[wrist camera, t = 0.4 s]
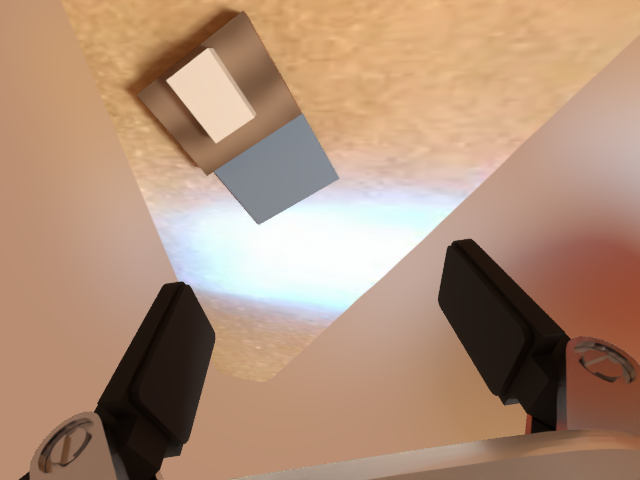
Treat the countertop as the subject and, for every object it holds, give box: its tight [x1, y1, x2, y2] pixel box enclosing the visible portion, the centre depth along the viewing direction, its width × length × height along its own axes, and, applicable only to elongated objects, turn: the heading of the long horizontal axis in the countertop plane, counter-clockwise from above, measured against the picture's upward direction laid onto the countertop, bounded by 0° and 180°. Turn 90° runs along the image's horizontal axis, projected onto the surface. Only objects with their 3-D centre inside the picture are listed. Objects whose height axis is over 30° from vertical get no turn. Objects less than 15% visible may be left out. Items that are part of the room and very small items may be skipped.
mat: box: [214, 113, 339, 225], centre depth 43 cm, size 11×16×1 cm
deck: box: [137, 11, 301, 176], centre depth 36 cm, size 12×16×3 cm
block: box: [166, 48, 256, 143], centre depth 33 cm, size 8×6×2 cm
